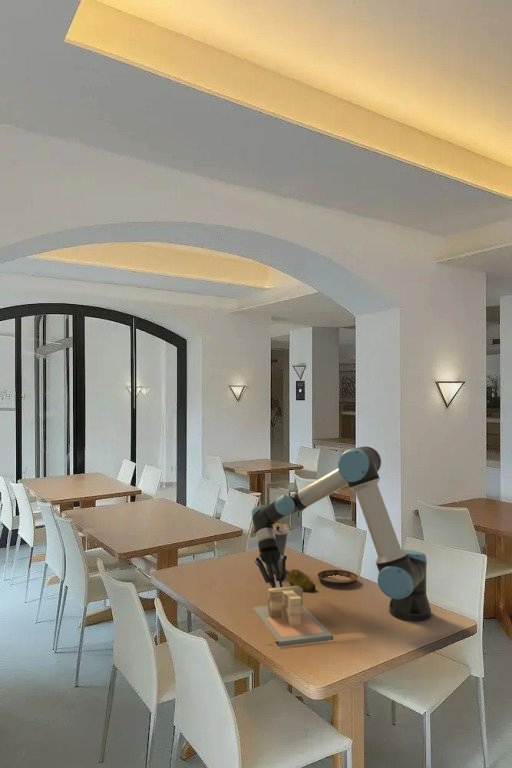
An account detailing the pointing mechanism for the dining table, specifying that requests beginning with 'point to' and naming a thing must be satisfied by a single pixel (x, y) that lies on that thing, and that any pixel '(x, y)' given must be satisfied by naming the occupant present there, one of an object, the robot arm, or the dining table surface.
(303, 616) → the board
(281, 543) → the moka pot
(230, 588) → the dining table surface
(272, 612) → the t block
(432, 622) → the dining table surface
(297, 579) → the potato
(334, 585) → the plant saucer
